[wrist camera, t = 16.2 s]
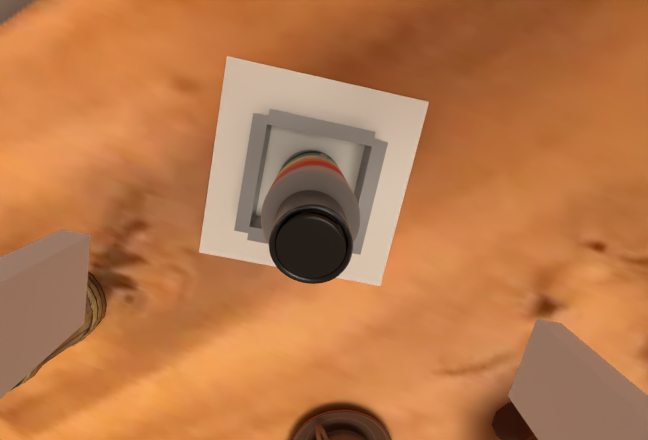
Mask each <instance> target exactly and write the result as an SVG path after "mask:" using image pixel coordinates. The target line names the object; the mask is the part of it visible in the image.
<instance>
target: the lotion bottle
mask: <svg viewBox="0 0 648 440" xmlns="http://www.w3.org/2000/svg"><path fill="white" fill-rule="evenodd" d="M261 226H262V231H263V234H264V237H265V239H266V241H267V243H268V245H269V251H270V255H271V258H272V260H273V262H274V264H275V265H276V266H277V268H278V269H279V270H280V271H281V272H282V273H284V274H285V275H286V276H288V277H290V278H292V279H294V280H297V281H300V282H304V283H312V284H315V283H323V282H327V281H330V280H332V279H334V278H336V277H337V276H339V275H340V274H341V273H342V272H343V271H344V270H345V269H346V267H347V266H348V264H349V262H350V260H351V256H352V252H353V243H354V241H355V239H356V237H357V235H358V231H359V227H360V210H359V205H358V202H357V200H356V197H355V195H354V193H353V191H352V190H351V188H350V186H349V184H348V183H347V181H346V179H345V177H344V176H343V174H342V172H341V170H340V169H339V167H338V165H337V164H336V163H335V161H334V160H333V159H332V158H331V157H329V156H328V155H327V154H325V153H323V152H320V151H317V150H303V151H300V152H297V153H295V154H294V155H292V156H291V157H290V158H288V159H287V161H286V162H285V163H284V164H283V166H282V168H281V169H280V171H279V173H278V175H277V177H276V178H275V180H274V182H273V184H272V186H271V187H270V189H269V191H268V193H267V195H266V197H265V200H264V203H263V206H262V210H261Z"/></svg>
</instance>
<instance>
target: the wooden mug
mask: <svg viewBox="0 0 648 440" xmlns="http://www.w3.org/2000/svg"><path fill="white" fill-rule="evenodd" d="M105 309H106V302H105V297H104V293H103V291H102V289H101V287H100V285H99V284H98V282H97V281H96V280H95V278H94V277H93V276H92V275H91V274H90V273H89V272H88V281H87V294H86V308H85V322H84V324H83V325H82V326H81V327H80V328H79V329H78V330H77V331H75V332H74V333H73V334H72V335H71V336H70V337H69V338H68V339H67V340H65V341H64V342H63V343H62V344H61V345H60V346H59V347H58V348H57V349H55V350H54V351H53V352H52V353H51V354H50V355H49V356H48V357H47V358H45V359H44V360H43V361H42V362H41V363H40V364H39V365H38V366H37V367H35V368H34V369H33V370H32V371H31V372H30V373H29V374H28V375H27V376H26V377H24V378H23V379H22V380H21V381H20V382H19V383H18V384H17V385H16V386H14V387H13V388H12V389H11V390H10V391H13V390H14V389H16V388H17V387H19V386H20V385H21V384H23V383H25V382H26V381H27V380H29V379H30V378H32V377H33V376H35V374H36V373H37V372H38V370H39V369H40V368H41V367H42V365H44V364H45V363H46V362H48V361H49V360H51V359H52V358H54V357H55V356H56V355H58V354H59V353H61V352H62V351H64V350H65V349H67V348H68V347H71V346H74V345H75V344H77V343H78V342H80V341H82V340H83V339H84V338H85V337H86V336H87V335H89V334H90V333H91V332H92V331H93V330H94V329H95V327H96V326H97V325H98V324H99V323H100V322H101V320H102V319H103V318H104V315H105ZM10 391H9V392H10Z"/></svg>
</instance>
